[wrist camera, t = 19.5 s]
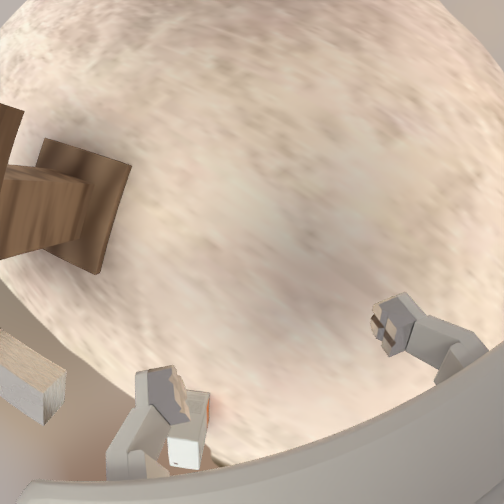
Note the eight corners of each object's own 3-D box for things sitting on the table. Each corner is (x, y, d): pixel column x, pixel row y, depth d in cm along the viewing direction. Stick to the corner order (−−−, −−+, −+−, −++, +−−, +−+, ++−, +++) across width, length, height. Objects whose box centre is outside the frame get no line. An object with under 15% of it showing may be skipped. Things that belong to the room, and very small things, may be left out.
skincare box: (209, 420, 46) (199, 471, 34) (184, 417, 46) (168, 466, 34) (210, 391, 45) (199, 442, 33) (183, 388, 45) (165, 437, 33)
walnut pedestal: (137, 152, 40) (-7, 101, 12) (97, 285, 43) (-37, 366, 15) (54, 127, 39) (-83, 89, 12) (22, 246, 42) (-109, 284, 15)
